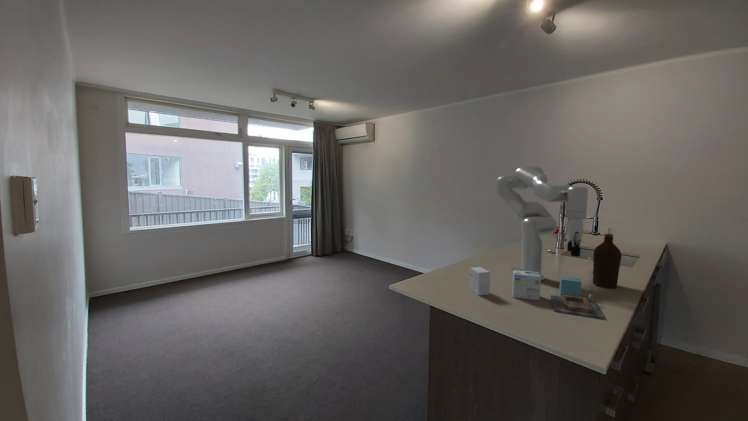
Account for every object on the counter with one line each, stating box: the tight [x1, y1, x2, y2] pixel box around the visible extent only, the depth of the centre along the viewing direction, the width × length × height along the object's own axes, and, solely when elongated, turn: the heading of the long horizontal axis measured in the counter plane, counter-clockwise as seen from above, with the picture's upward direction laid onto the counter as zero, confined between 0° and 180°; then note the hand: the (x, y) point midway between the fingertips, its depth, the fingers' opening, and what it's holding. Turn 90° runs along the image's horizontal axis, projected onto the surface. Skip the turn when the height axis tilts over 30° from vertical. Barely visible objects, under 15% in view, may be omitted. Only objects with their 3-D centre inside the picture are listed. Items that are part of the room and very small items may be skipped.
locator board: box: [550, 293, 605, 320], centre depth 125 cm, size 16×16×4 cm
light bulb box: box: [511, 270, 542, 301], centre depth 136 cm, size 11×7×11 cm, turn 71°
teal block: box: [558, 276, 583, 297], centre depth 139 cm, size 8×4×7 cm, turn 65°
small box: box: [468, 266, 491, 297], centre depth 141 cm, size 8×6×10 cm
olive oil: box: [592, 233, 622, 290], centre depth 149 cm, size 11×11×25 cm
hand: (573, 253), depth 137 cm, fingers open, 9 cm apart
